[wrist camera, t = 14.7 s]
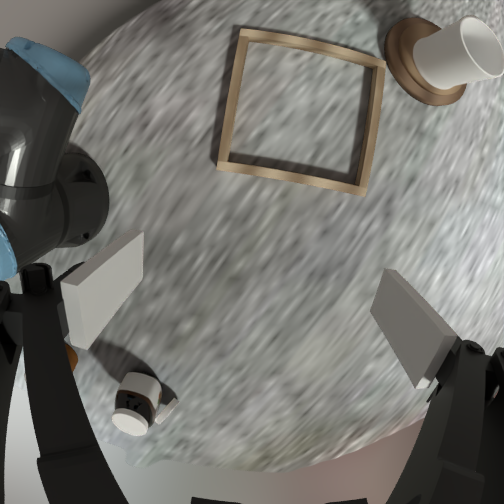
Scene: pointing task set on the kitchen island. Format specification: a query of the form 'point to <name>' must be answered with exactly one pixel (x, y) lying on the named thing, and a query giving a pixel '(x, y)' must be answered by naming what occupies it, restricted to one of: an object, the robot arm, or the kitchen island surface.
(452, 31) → the mug
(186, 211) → the kitchen island surface
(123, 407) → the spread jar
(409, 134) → the kitchen island surface
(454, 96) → the brown wooden saucer
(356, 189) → the square wooden frame
